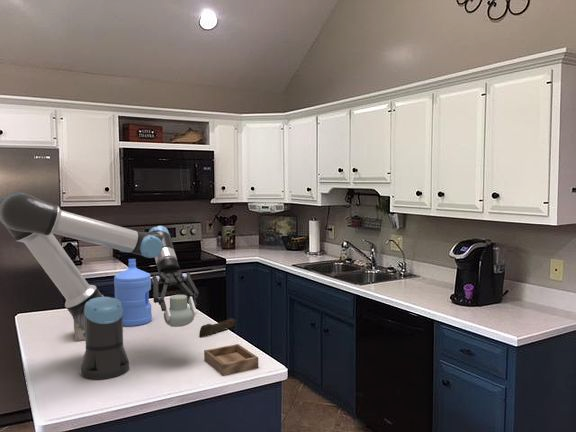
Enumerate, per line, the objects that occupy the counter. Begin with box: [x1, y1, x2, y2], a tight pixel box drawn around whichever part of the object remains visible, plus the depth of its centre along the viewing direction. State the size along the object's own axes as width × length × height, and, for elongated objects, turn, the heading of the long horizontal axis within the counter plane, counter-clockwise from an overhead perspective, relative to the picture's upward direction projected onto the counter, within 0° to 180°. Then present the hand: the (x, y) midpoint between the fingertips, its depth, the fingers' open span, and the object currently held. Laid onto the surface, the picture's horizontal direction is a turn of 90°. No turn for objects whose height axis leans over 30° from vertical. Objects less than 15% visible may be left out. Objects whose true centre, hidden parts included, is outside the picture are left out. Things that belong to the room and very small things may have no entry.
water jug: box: [113, 258, 153, 327], centre depth 220 cm, size 16×16×28 cm
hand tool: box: [198, 317, 237, 338], centre depth 206 cm, size 19×4×5 cm, turn 139°
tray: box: [203, 343, 259, 377], centre depth 170 cm, size 13×16×4 cm
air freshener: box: [163, 294, 195, 328], centre depth 172 cm, size 11×8×10 cm
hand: (182, 316), depth 169 cm, fingers closed on air freshener, 8 cm apart
